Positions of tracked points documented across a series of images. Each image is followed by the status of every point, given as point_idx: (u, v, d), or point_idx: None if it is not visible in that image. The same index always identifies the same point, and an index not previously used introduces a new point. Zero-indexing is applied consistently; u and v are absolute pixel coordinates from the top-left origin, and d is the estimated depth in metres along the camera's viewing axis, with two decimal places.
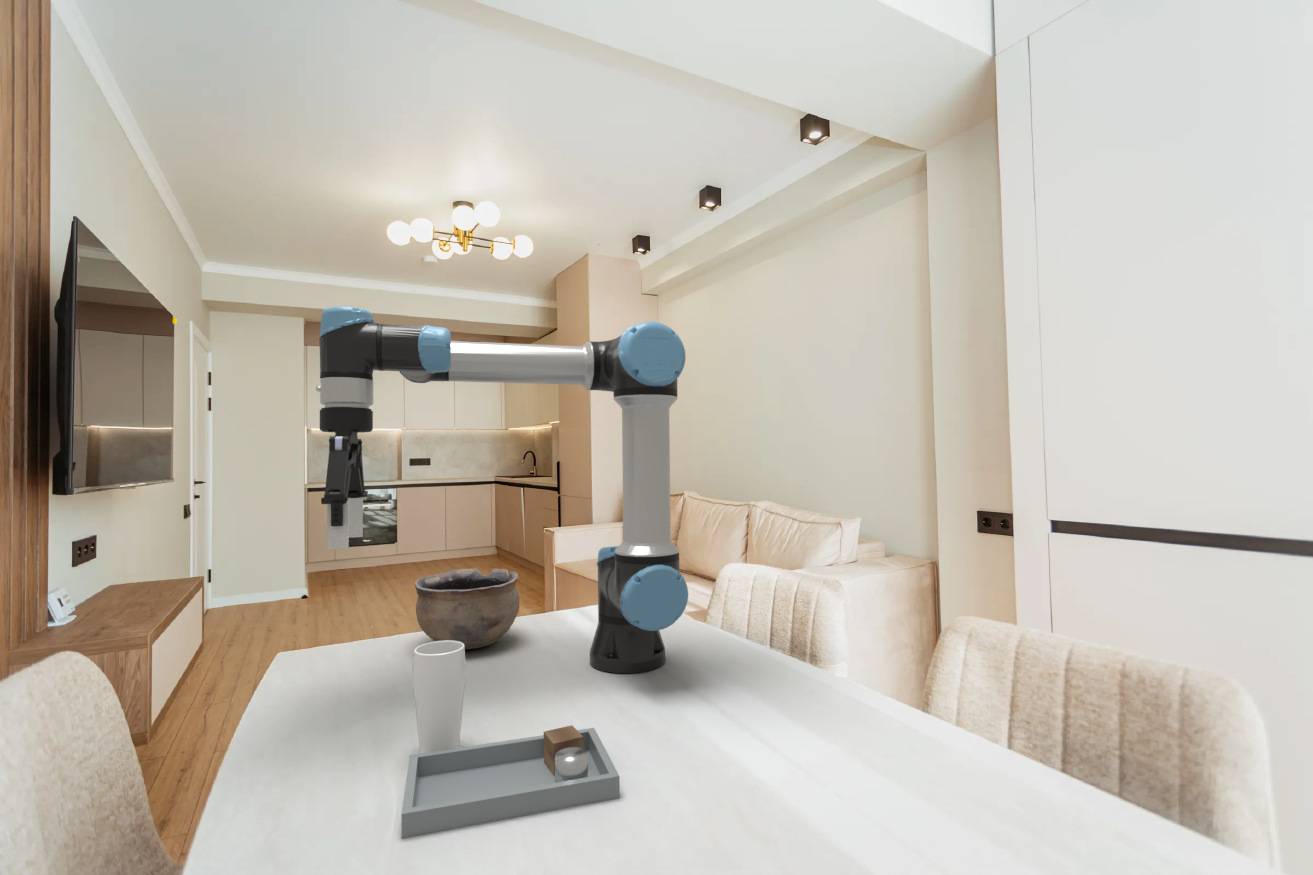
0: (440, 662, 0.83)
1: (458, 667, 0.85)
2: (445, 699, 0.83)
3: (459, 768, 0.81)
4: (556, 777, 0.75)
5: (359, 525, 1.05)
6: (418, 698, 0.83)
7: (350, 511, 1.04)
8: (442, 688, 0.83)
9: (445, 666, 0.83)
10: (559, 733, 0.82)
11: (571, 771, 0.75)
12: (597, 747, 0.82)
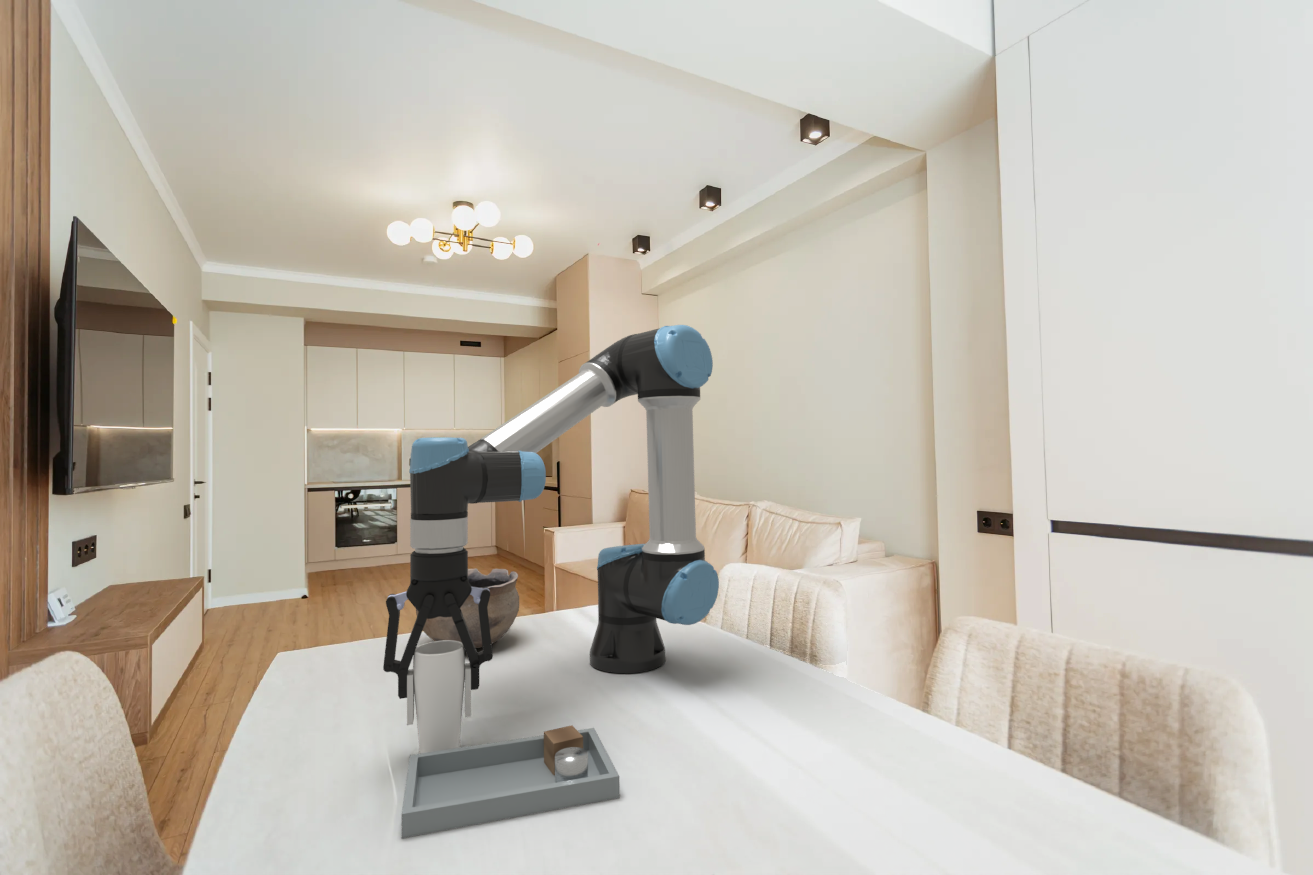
0: (440, 662, 0.83)
1: (458, 667, 0.85)
2: (445, 699, 0.83)
3: (459, 768, 0.81)
4: (556, 777, 0.75)
5: (465, 701, 0.86)
6: (418, 697, 0.83)
7: None
8: (442, 688, 0.83)
9: (445, 666, 0.83)
10: (559, 733, 0.82)
11: (571, 771, 0.75)
12: (597, 747, 0.82)
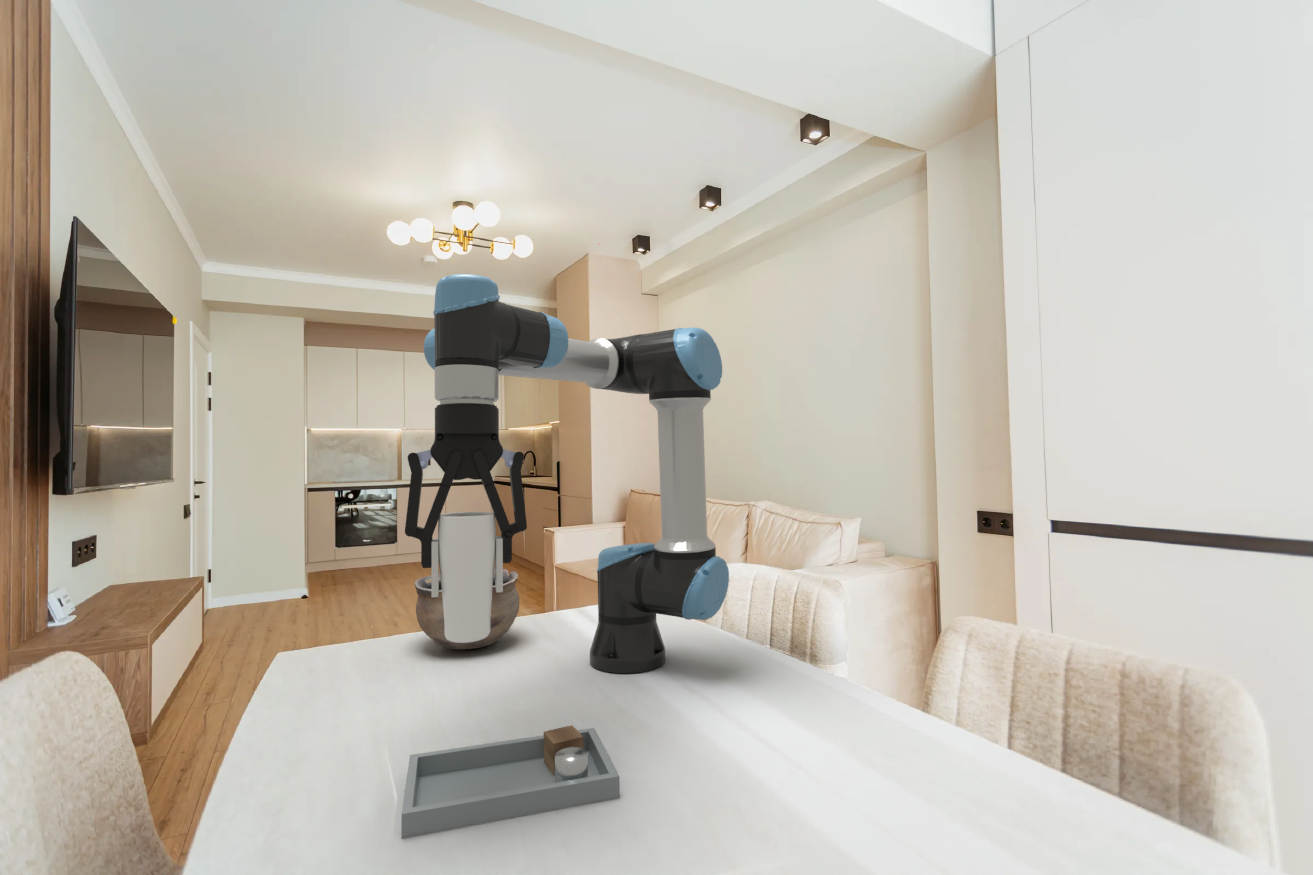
0: (469, 525, 0.73)
1: (489, 534, 0.75)
2: (475, 568, 0.74)
3: (459, 768, 0.81)
4: (556, 777, 0.75)
5: (496, 575, 0.76)
6: (444, 566, 0.74)
7: (495, 554, 0.78)
8: (471, 555, 0.73)
9: (475, 531, 0.74)
10: (559, 733, 0.82)
11: (571, 771, 0.75)
12: (597, 747, 0.82)
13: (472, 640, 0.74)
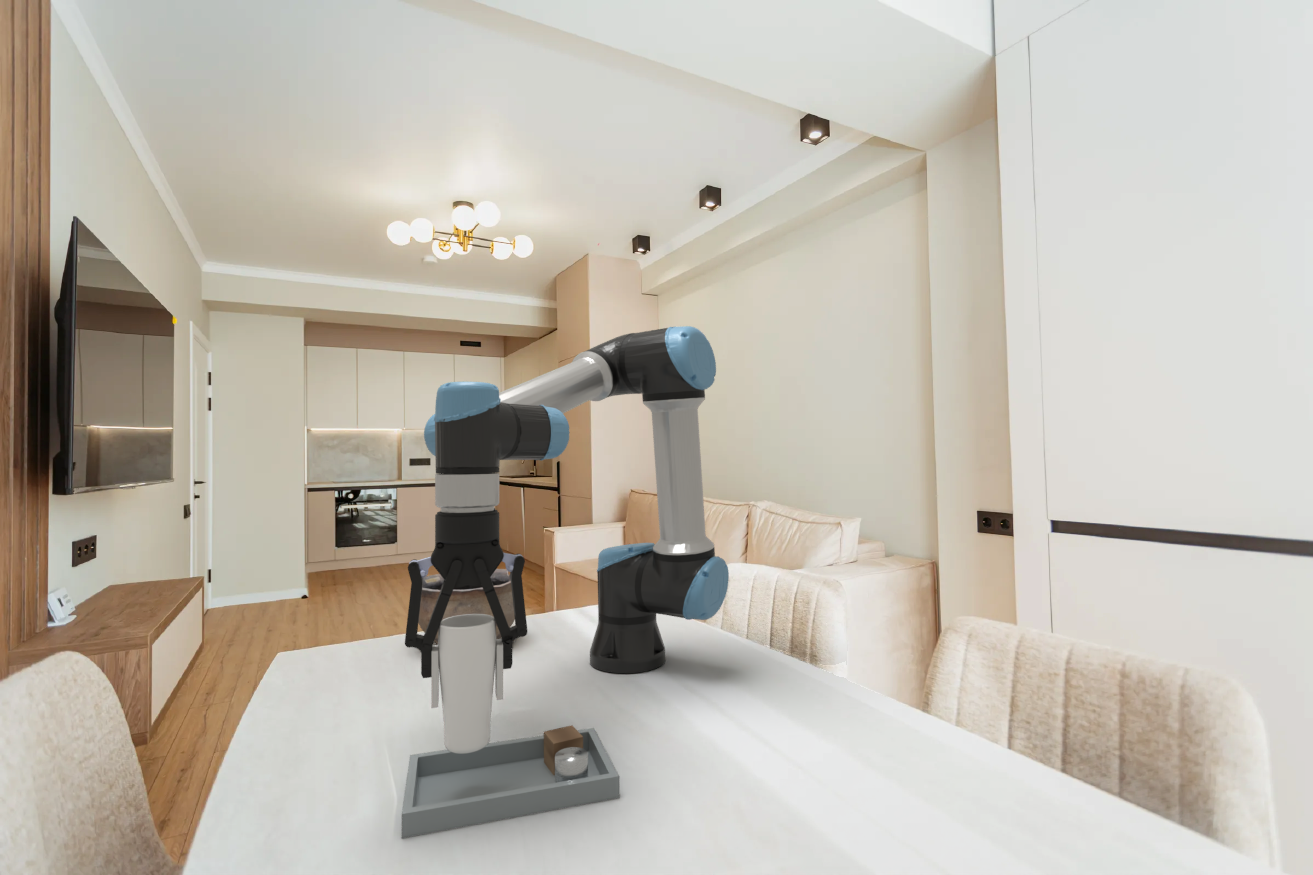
0: (470, 636, 0.73)
1: (489, 642, 0.75)
2: (475, 678, 0.73)
3: (459, 768, 0.81)
4: (556, 777, 0.75)
5: (496, 682, 0.76)
6: (444, 677, 0.73)
7: None
8: (471, 666, 0.73)
9: (475, 641, 0.73)
10: (559, 733, 0.82)
11: (571, 771, 0.75)
12: (597, 747, 0.82)
13: (472, 751, 0.73)
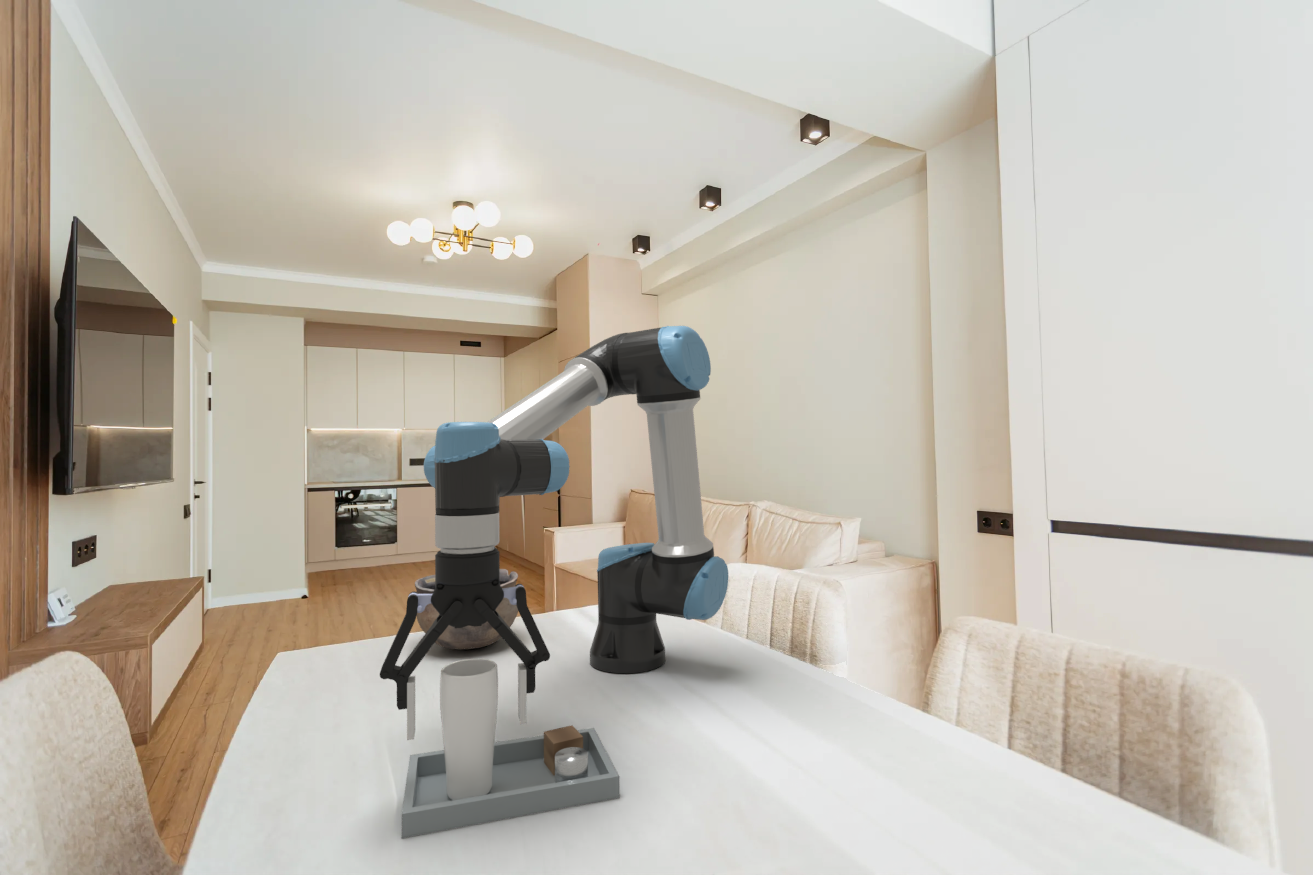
0: (472, 685, 0.73)
1: (491, 690, 0.75)
2: (477, 727, 0.73)
3: None
4: (556, 777, 0.75)
5: (519, 706, 0.77)
6: (446, 725, 0.73)
7: (518, 683, 0.78)
8: (474, 715, 0.73)
9: (477, 690, 0.73)
10: (559, 733, 0.82)
11: (571, 771, 0.75)
12: (597, 747, 0.82)
13: None
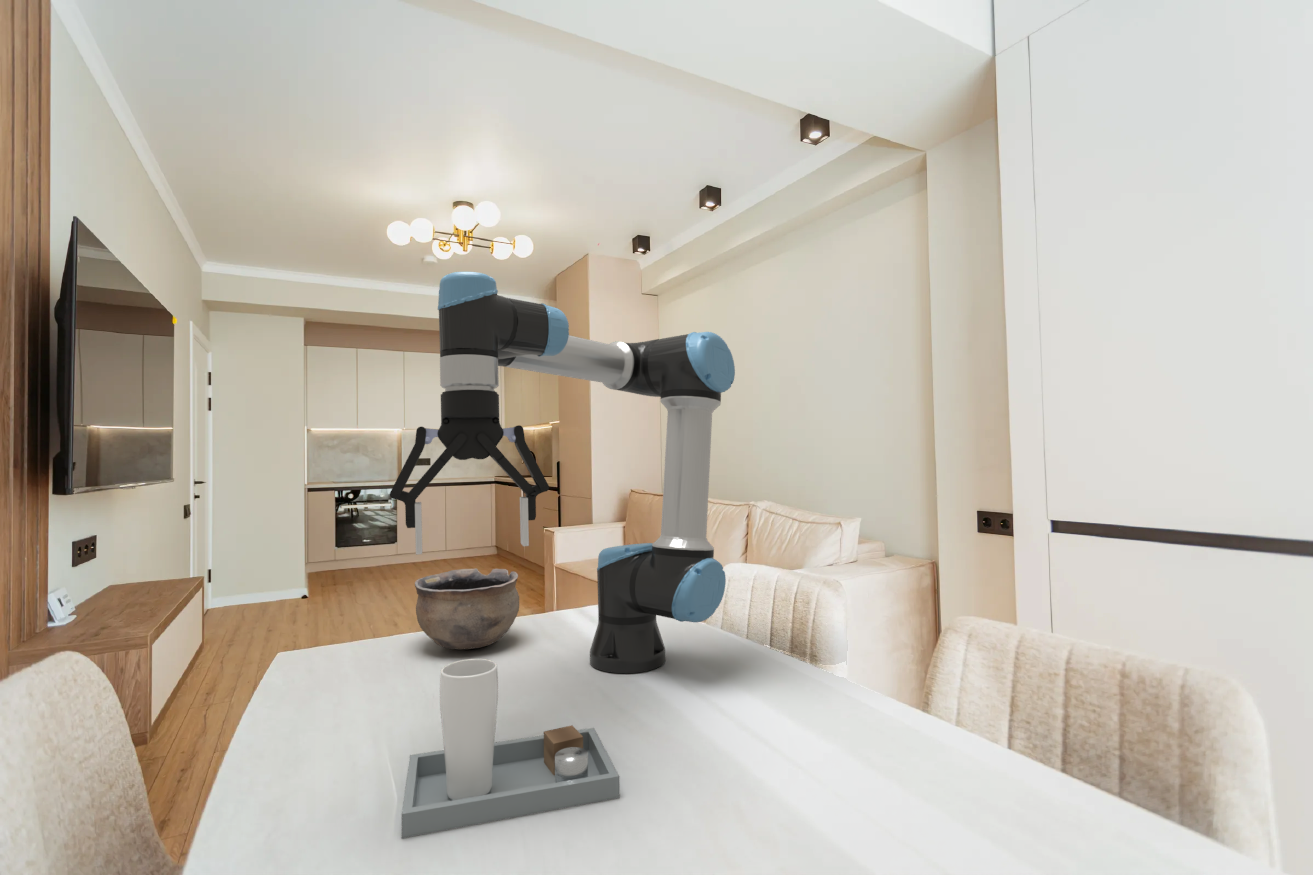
0: (472, 685, 0.73)
1: (491, 690, 0.75)
2: (477, 727, 0.73)
3: None
4: (556, 777, 0.75)
5: (522, 531, 0.85)
6: (446, 725, 0.73)
7: (520, 513, 0.87)
8: (473, 715, 0.73)
9: (477, 690, 0.73)
10: (559, 733, 0.82)
11: (571, 771, 0.75)
12: (597, 747, 0.82)
13: None
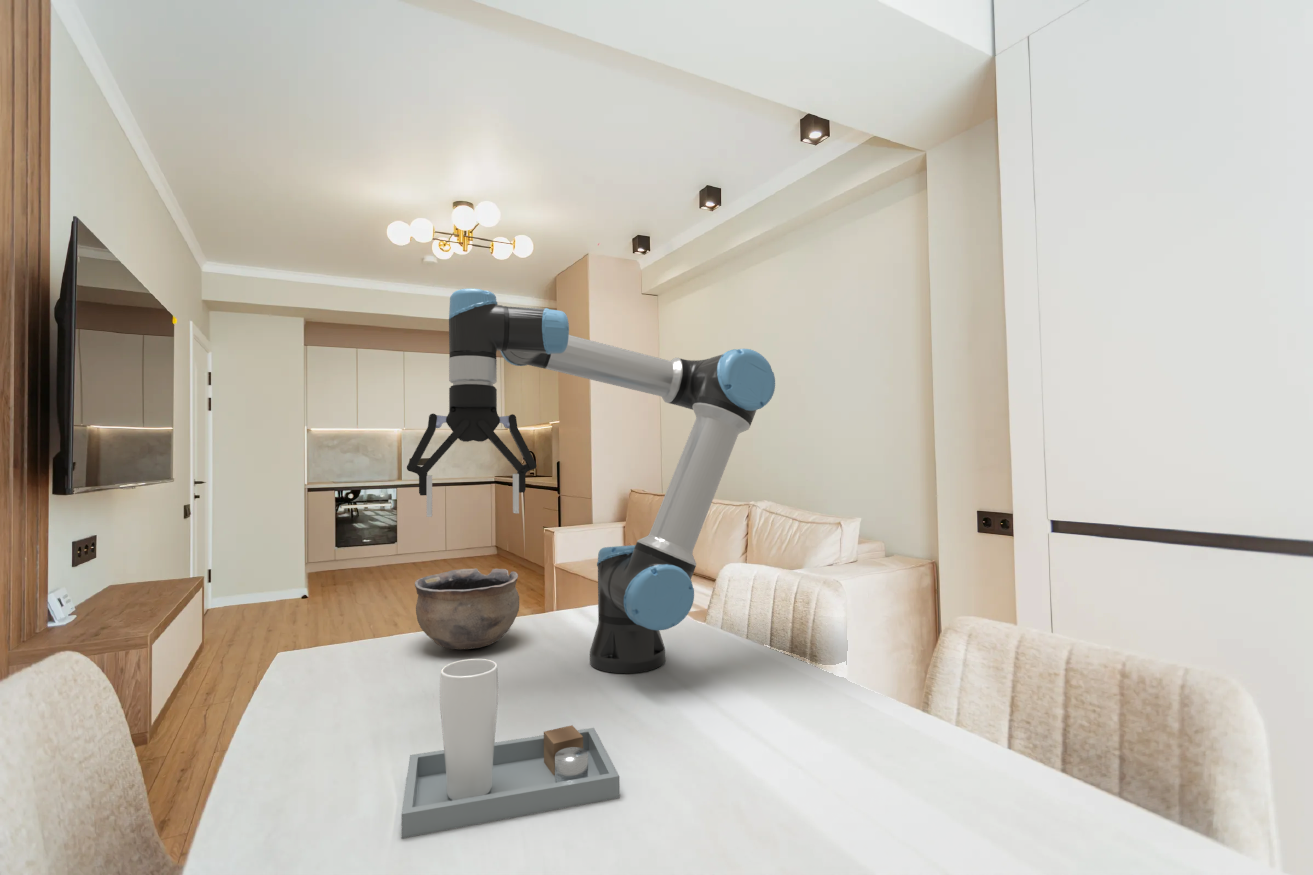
0: (472, 685, 0.73)
1: (491, 690, 0.75)
2: (477, 727, 0.73)
3: None
4: (556, 777, 0.75)
5: (514, 501, 1.04)
6: (447, 725, 0.73)
7: (513, 486, 1.05)
8: (473, 715, 0.73)
9: (477, 690, 0.73)
10: (559, 733, 0.82)
11: (571, 771, 0.75)
12: (597, 747, 0.82)
13: None
